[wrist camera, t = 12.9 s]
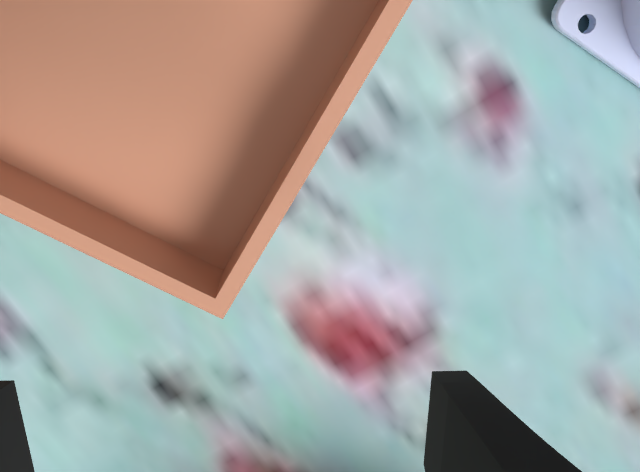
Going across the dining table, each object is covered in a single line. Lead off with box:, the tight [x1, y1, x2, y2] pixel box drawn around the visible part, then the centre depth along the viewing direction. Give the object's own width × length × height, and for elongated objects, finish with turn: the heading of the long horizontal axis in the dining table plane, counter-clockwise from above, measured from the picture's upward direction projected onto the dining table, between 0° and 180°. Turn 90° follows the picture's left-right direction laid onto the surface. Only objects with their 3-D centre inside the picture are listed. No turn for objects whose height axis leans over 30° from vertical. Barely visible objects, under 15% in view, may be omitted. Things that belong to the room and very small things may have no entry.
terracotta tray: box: [0, 0, 412, 319], centre depth 15 cm, size 12×12×3 cm
